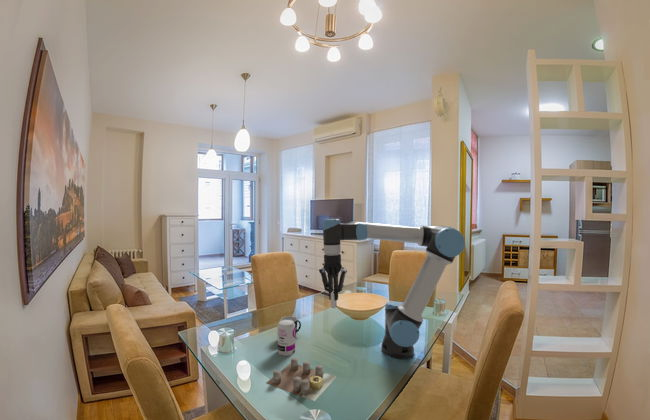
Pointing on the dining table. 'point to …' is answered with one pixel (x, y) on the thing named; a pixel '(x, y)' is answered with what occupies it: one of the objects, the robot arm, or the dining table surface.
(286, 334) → the supplement can
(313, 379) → the brass nut
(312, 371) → the board
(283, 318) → the mug
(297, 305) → the dining table surface
